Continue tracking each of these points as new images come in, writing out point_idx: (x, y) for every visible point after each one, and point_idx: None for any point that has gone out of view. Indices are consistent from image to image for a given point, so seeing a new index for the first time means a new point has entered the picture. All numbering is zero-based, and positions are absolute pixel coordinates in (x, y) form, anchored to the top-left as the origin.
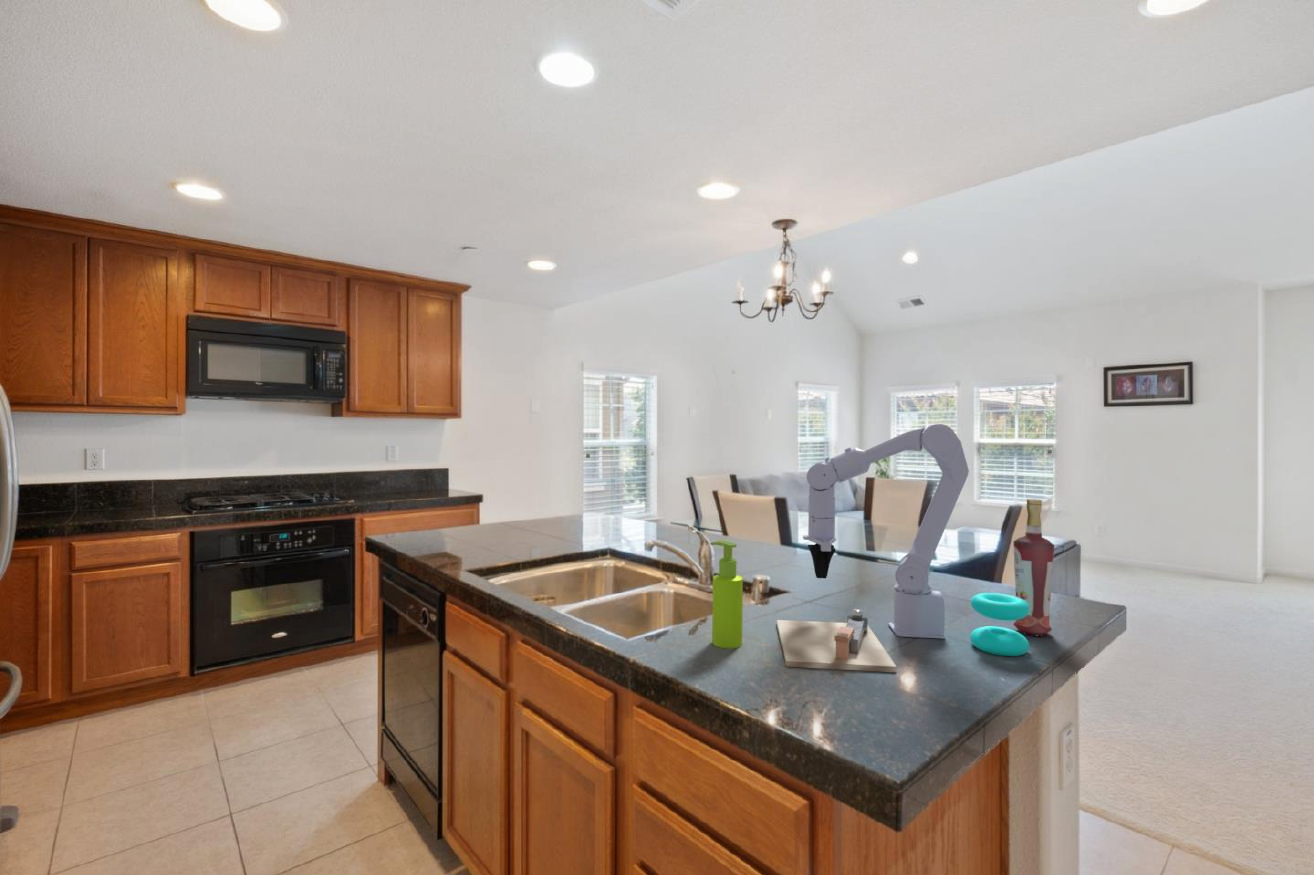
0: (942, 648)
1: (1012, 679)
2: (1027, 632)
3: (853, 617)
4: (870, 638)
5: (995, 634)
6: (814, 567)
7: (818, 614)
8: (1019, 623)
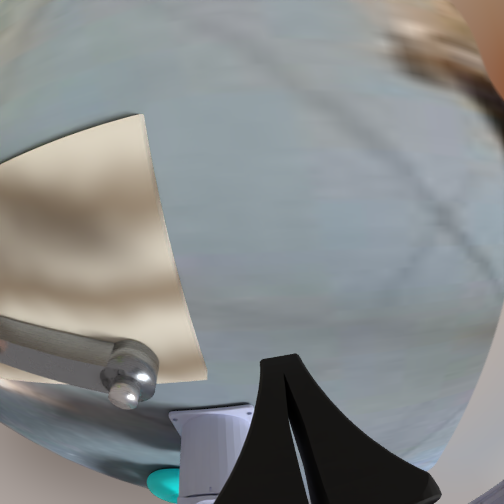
0: (144, 444)
1: (77, 459)
2: None
3: (115, 377)
4: None
5: (161, 495)
6: (292, 395)
7: (316, 252)
8: None
